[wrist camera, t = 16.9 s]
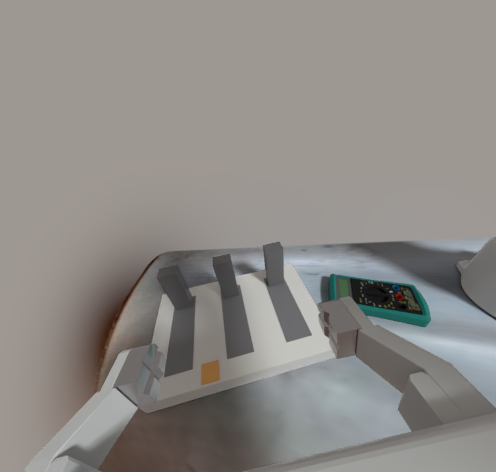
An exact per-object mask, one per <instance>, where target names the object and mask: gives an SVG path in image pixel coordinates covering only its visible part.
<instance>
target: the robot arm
mask: <svg viewBox="0 0 496 472" xmlns="http://www.w3.org/2000/svg"><path fill="white" fill-rule="evenodd" d="M456 266H457V268H458V270H459V271H460V273H461V285H462V288H463V290H464V291H465V293H466V294H467V295H468V296H469V297H470V298H471V299H472V300H473V301H474V302H475V303H476V304H477V305H478V306H480V307H481V308H482V309H484V310H485V311H486V312H488V313H489V314H491V315H493V316H494V317H496V237H493V238H491V239H490V240H489V241H488V242H487V243H486V244H485V245H484V246H483V247H482V249H481V250H480V251H479V252H478V253H477V254H476V255H475V256H474V257H473V259H470V260H461V261H459V262H458V263H457V264H456ZM318 310H319V312H320V313H319V315H318V318H319V323H320V326H321V329H322V331H323V333H324V335H325V336H327V337H328V338H329V345H330V347H331V349H332V351H333V352H334V354H335V356H336V358H337V359H339V358H344V357H349V356H353V355H356V357H358V358H359V359H360V360H361V361H363V362H364V363H365V364H366V365H368V366H369V367H370V368H371V369H373V370H374V371H375V372H376V373H378V374H379V375H380V376H381V377H383V378H384V379H385V380H386V381H388V382H389V383H390V384H391V385H393V386H394V387H395V388H396V389H398V390H399V391H400V392H401V393H403V395H402V398H401V400H400V403H399V407H398V410H399V412H400V414H401V415H402V417H403V418H404V420H405V422H406V423H407V425H408V426H409V428H410V429H411V431H412V432H408V433H404V434H400V435H395V436H391V437H387V438H383V439H378V440H374V441H370V442H366V443H361V444H357V445H353V446H348V447H344V448H340V449H336V450H331V451H327V452H323V453H319V454H314V455H310V456H306V457H302V458H297V459H293V460H289V461H284V462H280V463H276V464H272V465H267V466H263V467H259V468H255V469H250V470H246V471H242V472H496V408H495V407H494V406H493V405H492V404H491V403H490V402H489V401H488V400H487V399H486V398H485V397H484V396H483V395H482V394H481V393H480V392H479V391H478V390H477V389H476V388H475V387H474V386H473V385H472V384H471V383H470V382H469V381H468V380H467V379H466V378H465V377H464V376H463V375H462V374H461V373H460V372H459V371H458V370H457V369H456V368H455V367H454V366H453V365H452V364H450V363H448V362H446V361H445V360H443V359H441V358H439V357H437V356H435V355H433V354H431V353H430V352H428V351H426V350H424V349H422V348H420V347H418V346H416V345H414V344H413V343H411V342H409V341H407V340H405V339H403V338H401V337H399V336H397V335H396V334H394V333H392V332H390V331H388V330H386V329H384V328H382V327H381V326H379V325H375V326H374V325H373V324H372V322H371V321H370V320H369V319H368V317H367V316H366V315H365V314H364V312H363V311H362V310H361V309H360V308H359V306H358V305H357V304H356V303H355V301H354V300H353V299H352V298H351V297H350V296H347V297H343V298H339V299H334V300H330V301H326V302H322V303H318ZM157 350H158V346H157V345H156V344H155V343H154V344H150V345H145V346H140V347H136V348H131V349H127V350H123V351H122V352H121V353H120V354H119V355H118V357H117V359H116V361H115V363H114V365H113V367H112V369H111V371H110V372H109V374H108V376H107V378H106V380H105V382H104V384H103V386H102V388H101V390H100V391H99V392H96V393H95V394H94V395H93V396H92V397H91V398H90V400H89V401H88V402H87V403H86V404H85V405H84V406H83V407H82V408H81V409H80V410H79V411H78V412H77V413H76V414H75V415H74V416H73V417H72V418H71V419H70V421H68V423H67V424H66V425H65V426H64V427H63V428H62V429H61V430H60V431H59V432H58V433H57V434H56V435H55V436H54V437H53V438H52V439H51V440H50V441H49V442H48V444H47V445H46V446H45V447H44V448H43V449H42V450H41V451H40V452H39V453H38V454H37V455H36V456H35V457H34V458H33V459H32V460H31V461H30V462H29V464H28V465H27V467H26V468H25V470H24V472H102V471H100V470H98V468H99V467H100V465H101V464H102V462H103V461H104V459H105V458H106V456H107V455H108V453H109V452H110V450H111V449H112V447H113V445H114V444H115V442H116V441H117V439H118V438H119V436H120V435H121V433H122V432H123V430H124V429H125V427H126V426H127V424H128V423H129V421H130V420H131V418H132V416H133V415H134V413H135V412H136V410H137V409H138V407H139V406H143V405H147V404H150V403H154V402H156V401H157V397H158V393H159V390H160V386H161V383H160V381H159V379H160V378H161V377H162V375H163V374H164V371H165V367H166V359H165V356H164V354H163V353H162V352H160V351H157Z"/></svg>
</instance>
